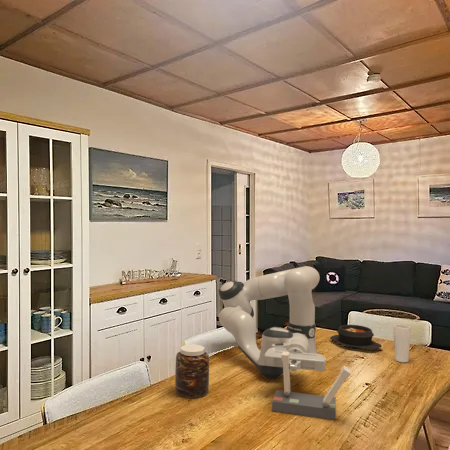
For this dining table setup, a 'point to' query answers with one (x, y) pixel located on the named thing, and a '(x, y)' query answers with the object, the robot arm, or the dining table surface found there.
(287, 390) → the lever
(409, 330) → the drinking glass
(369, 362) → the dining table surface
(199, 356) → the jar
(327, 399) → the on lever
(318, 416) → the panel
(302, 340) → the robot arm
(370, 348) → the casserole
